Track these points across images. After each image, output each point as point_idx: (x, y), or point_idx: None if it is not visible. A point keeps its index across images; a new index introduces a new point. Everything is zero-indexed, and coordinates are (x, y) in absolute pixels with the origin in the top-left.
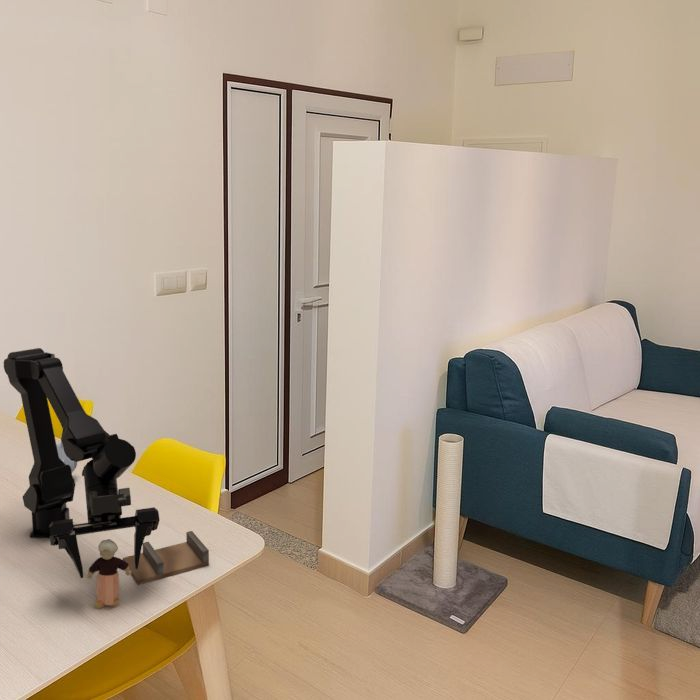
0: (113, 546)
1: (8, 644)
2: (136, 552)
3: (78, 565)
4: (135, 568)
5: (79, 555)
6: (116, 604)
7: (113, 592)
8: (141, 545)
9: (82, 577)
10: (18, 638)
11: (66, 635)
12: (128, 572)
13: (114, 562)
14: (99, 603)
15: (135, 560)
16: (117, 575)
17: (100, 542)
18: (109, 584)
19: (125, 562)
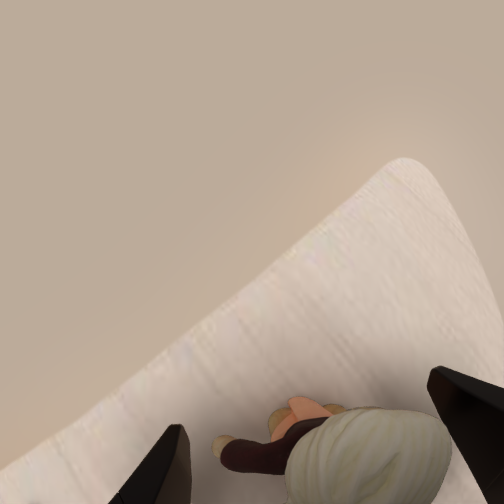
0: (326, 434)
1: (481, 274)
2: (155, 475)
3: (476, 382)
4: (186, 433)
5: (502, 406)
6: (278, 411)
7: (291, 420)
8: (112, 502)
9: (431, 375)
10: (475, 291)
11: (391, 290)
12: (225, 436)
13: (299, 430)
14: (333, 412)
15: (173, 444)
16: (279, 437)
17: (450, 454)
18: (310, 407)
19: (234, 455)
